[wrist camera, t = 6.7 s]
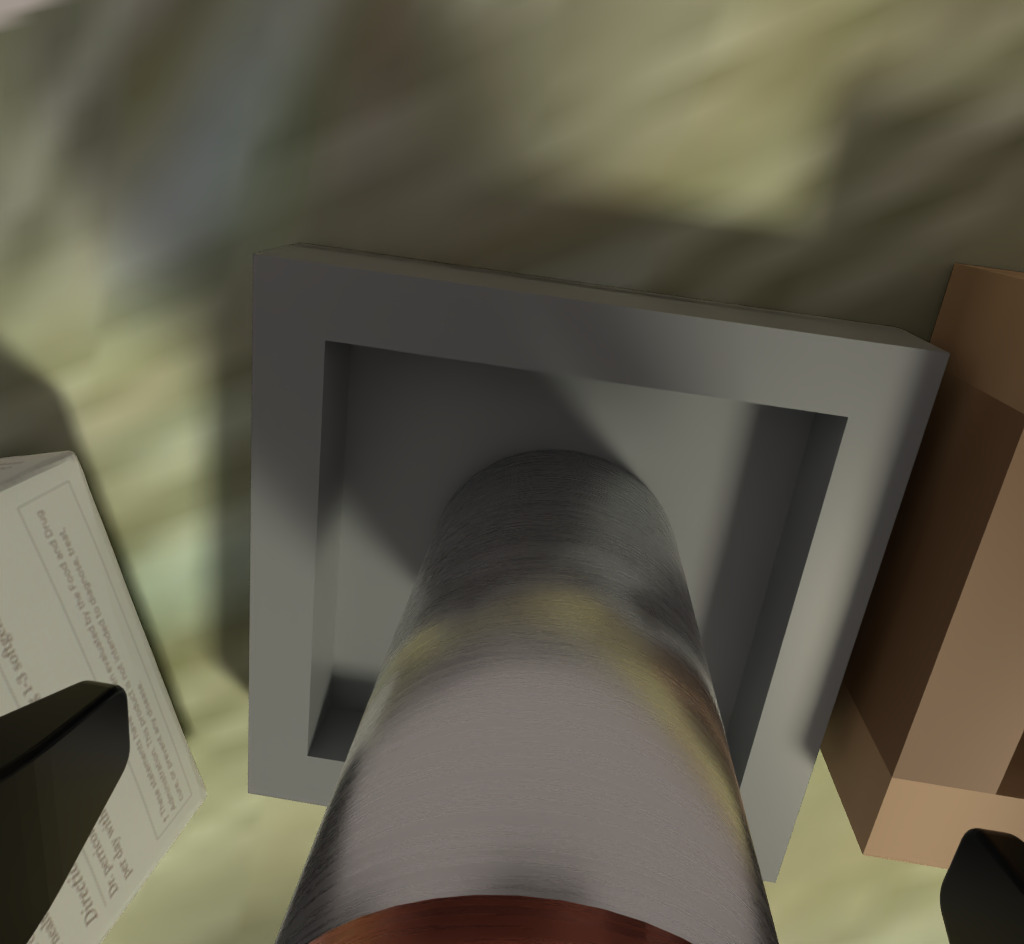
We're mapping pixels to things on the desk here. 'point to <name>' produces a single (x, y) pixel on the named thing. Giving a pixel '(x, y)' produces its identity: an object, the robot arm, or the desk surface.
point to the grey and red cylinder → (539, 739)
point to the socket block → (947, 608)
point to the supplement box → (88, 656)
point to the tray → (576, 427)
